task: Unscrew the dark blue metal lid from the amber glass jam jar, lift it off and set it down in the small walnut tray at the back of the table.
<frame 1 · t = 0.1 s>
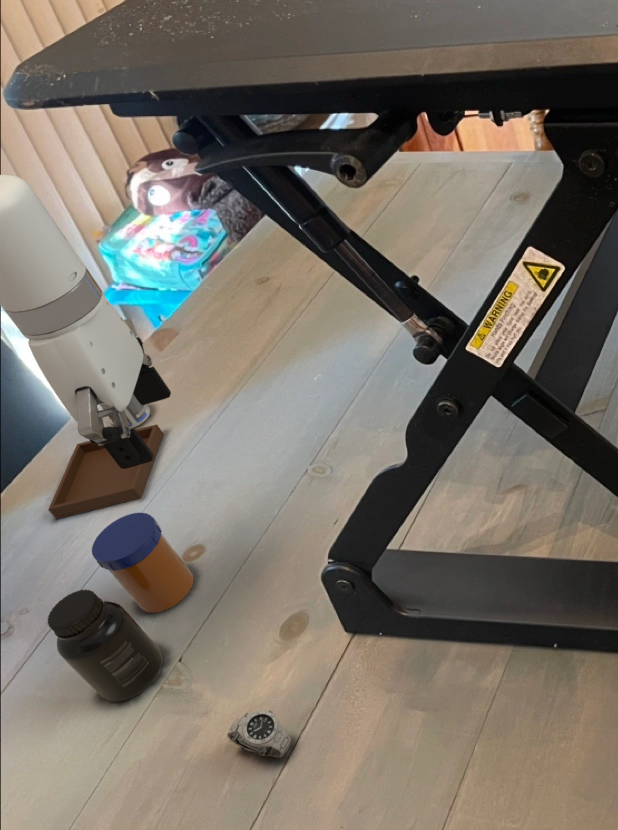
hand: (148, 430, 109), 23 cm above the table, tool pointing down, fingers open, 9 cm apart
jar lid: (124, 538, 117), point 9 cm above the table, screwed on, not yet turned
jam jar: (166, 590, 123), on the table
walnut tray: (111, 475, 140), on the table
supplement bottle: (133, 675, 114), on the table
wristwatch: (269, 747, 104), on the table
pill bottle: (134, 419, 149), on the table
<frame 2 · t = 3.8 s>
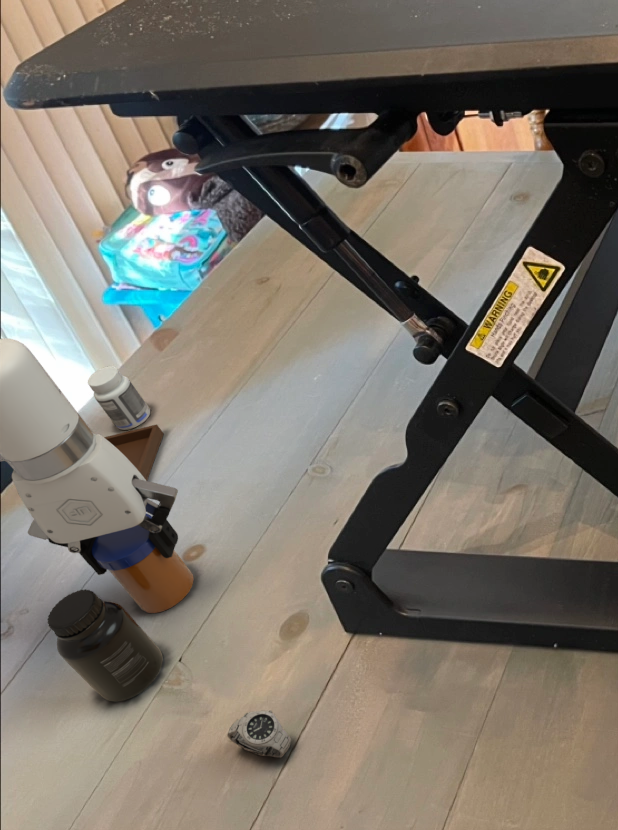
hand: (138, 555, 119), 6 cm above the table, tool pointing down, fingers closed on jar lid, 6 cm apart
jar lid: (124, 538, 117), point 9 cm above the table, screwed on, not yet turned, touching gripper
everything else where it was.
when the fingers open (6 cm above the table, at t = 5.9 s): jar lid stays where it is, point 10 cm above the table.
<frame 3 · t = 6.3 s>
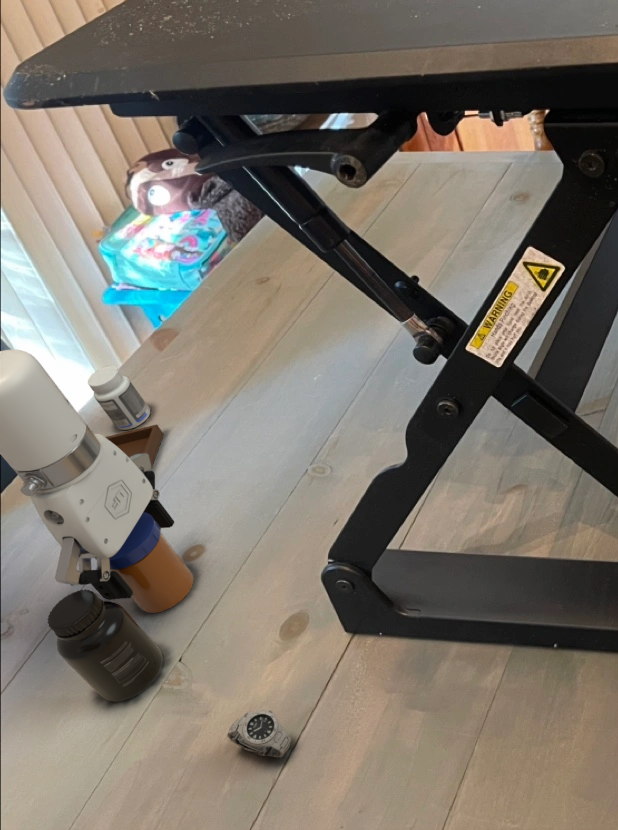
hand: (141, 560, 119), 6 cm above the table, tool pointing down, fingers open, 9 cm apart
jar lid: (124, 537, 117), point 10 cm above the table, turned 95° so far, risen 0.1 cm, still on its thread
everything else where it was.
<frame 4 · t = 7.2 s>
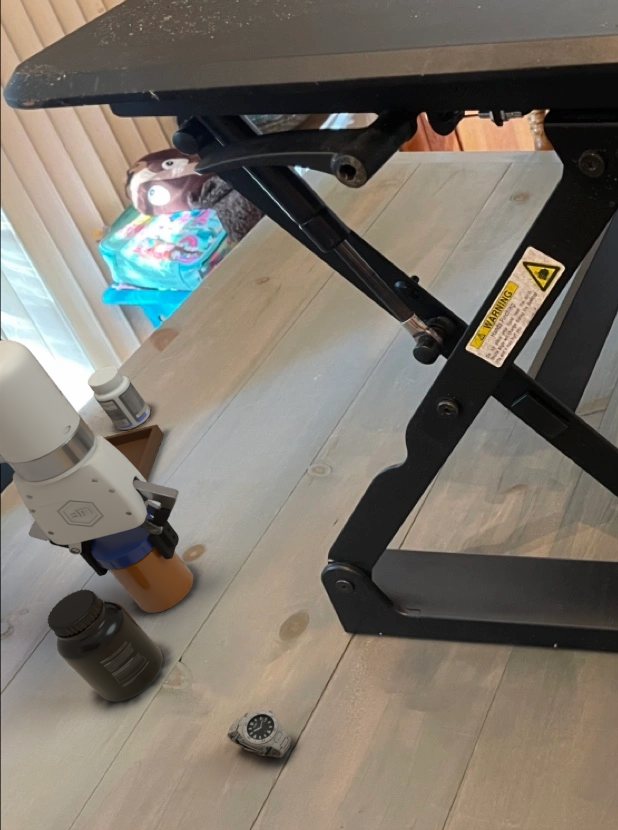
hand: (139, 556, 119), 6 cm above the table, tool pointing down, fingers closed on jar lid, 6 cm apart
jar lid: (123, 537, 117), point 10 cm above the table, turned 95° so far, risen 0.1 cm, still on its thread, touching gripper
everything else where it was.
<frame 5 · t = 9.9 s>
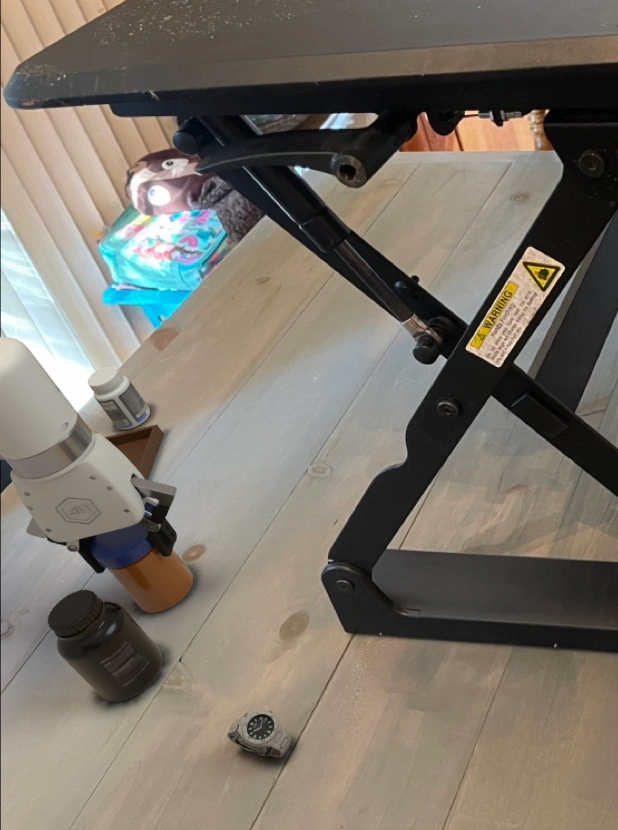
hand: (137, 554, 119), 7 cm above the table, tool pointing down, fingers closed on jar lid, 6 cm apart
jar lid: (123, 536, 117), point 10 cm above the table, turned 190° so far, risen 0.3 cm, still on its thread, touching gripper
everything else where it was.
when the fingers open (6 cm above the table, at t = 11.8 s): jar lid stays where it is, point 10 cm above the table.
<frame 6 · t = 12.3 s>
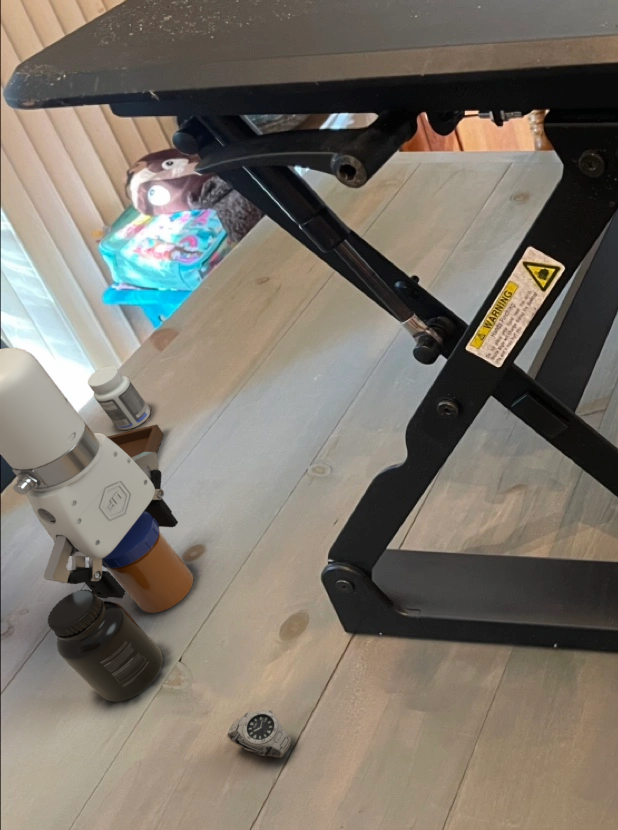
hand: (140, 558, 119), 6 cm above the table, tool pointing down, fingers open, 9 cm apart
jar lid: (122, 535, 117), point 10 cm above the table, turned 284° so far, risen 0.4 cm, still on its thread
everything else where it was.
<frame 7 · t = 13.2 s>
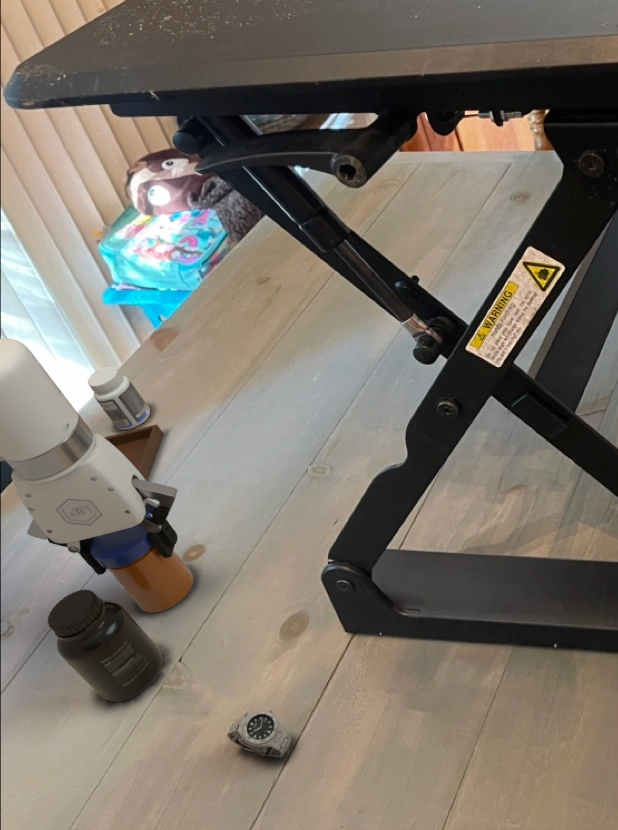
hand: (138, 555, 119), 6 cm above the table, tool pointing down, fingers closed on jar lid, 6 cm apart
jar lid: (122, 535, 117), point 10 cm above the table, turned 284° so far, risen 0.4 cm, still on its thread, touching gripper
everything else where it was.
when the fingers open (1 cm above the table, at t = 22.0 s): jar lid drops 3 cm, resting on walnut tray.
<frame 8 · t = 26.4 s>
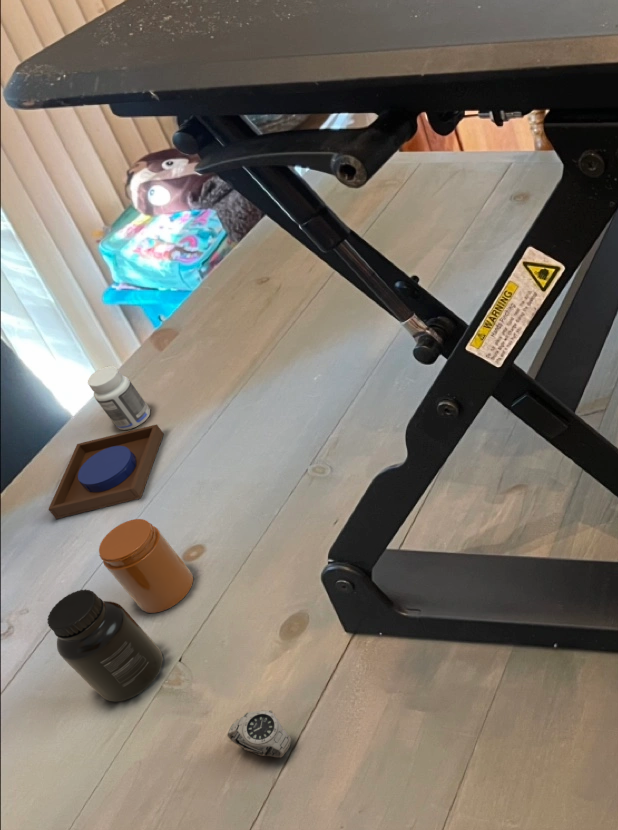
jar lid: (105, 466, 139), point 2 cm above the table, off its thread, touching walnut tray
everything else where it was.
at the end: jar lid came off its thread; jar lid inside the target area on the walnut tray (0.0 cm from its centre), point 1.7 cm above the walnut tray's base; the gripper is holding nothing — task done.
